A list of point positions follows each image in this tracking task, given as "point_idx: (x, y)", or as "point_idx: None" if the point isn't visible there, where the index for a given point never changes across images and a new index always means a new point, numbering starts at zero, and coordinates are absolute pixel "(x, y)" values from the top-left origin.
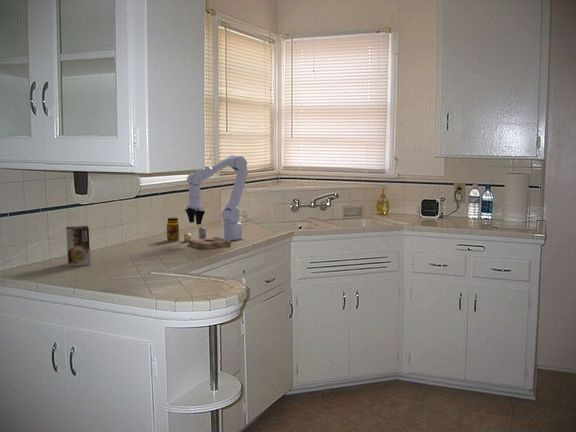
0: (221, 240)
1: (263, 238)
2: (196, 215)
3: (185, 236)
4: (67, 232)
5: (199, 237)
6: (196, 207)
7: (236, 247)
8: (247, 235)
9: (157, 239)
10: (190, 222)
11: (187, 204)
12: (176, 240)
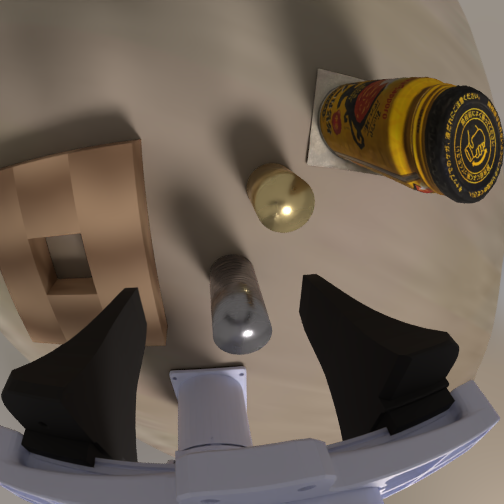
0: (56, 321)
1: (177, 446)
2: (52, 352)
3: (269, 174)
4: None
5: (233, 268)
6: (43, 483)
7: (17, 329)
8: (257, 435)
9: None
10: (304, 279)
11: (480, 433)
12: (322, 125)
